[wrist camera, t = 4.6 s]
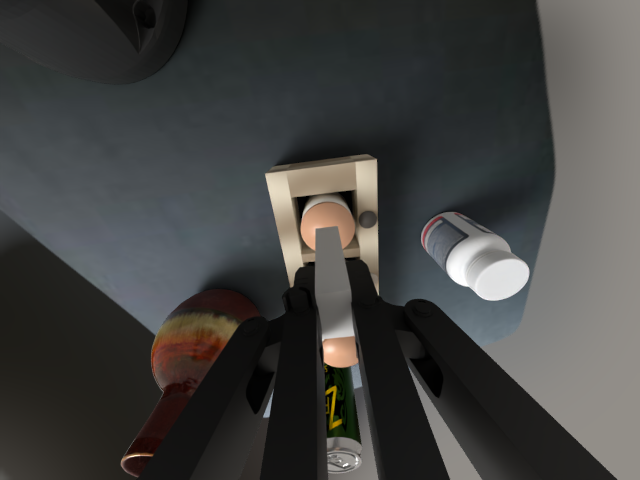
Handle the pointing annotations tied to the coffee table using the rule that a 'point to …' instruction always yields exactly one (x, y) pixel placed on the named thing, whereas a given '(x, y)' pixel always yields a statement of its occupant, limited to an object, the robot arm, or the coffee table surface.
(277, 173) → the wooden egg tray
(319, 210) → the button
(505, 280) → the pill bottle
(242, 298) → the vase
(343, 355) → the button
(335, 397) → the beer can
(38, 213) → the coffee table surface
